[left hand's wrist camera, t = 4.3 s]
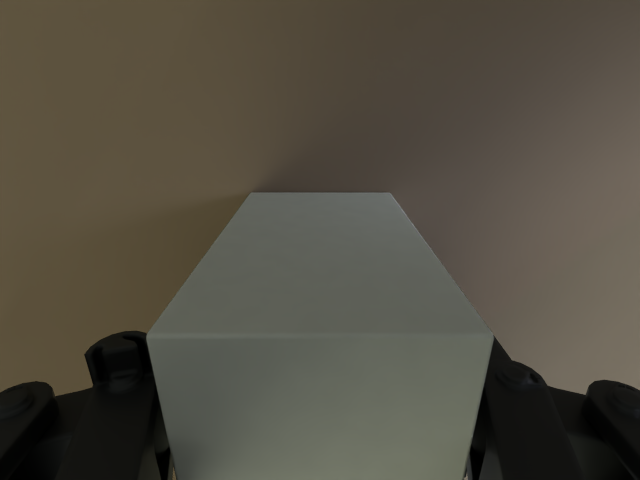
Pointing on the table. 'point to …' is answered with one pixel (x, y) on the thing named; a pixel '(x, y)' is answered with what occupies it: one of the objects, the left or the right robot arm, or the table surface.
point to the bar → (320, 348)
